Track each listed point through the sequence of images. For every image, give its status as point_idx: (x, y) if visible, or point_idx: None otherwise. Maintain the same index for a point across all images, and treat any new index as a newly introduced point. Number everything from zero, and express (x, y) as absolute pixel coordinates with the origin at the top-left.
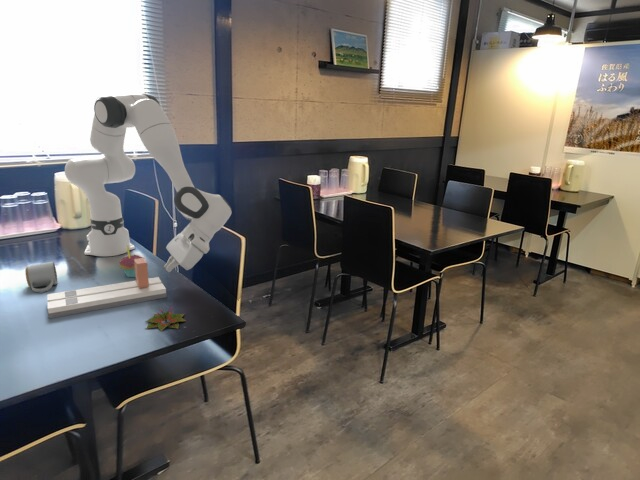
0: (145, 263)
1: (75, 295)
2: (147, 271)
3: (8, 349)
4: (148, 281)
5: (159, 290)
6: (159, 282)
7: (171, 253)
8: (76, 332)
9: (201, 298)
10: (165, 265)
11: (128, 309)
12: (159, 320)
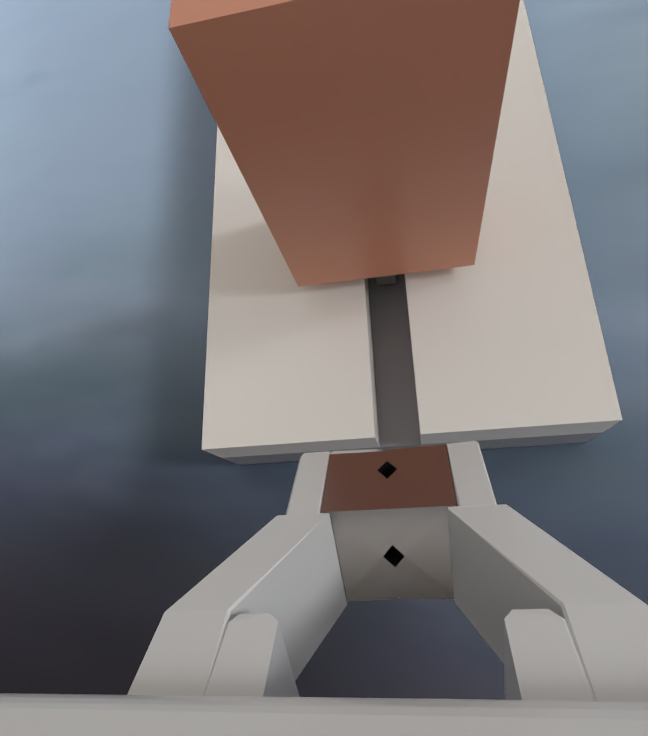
0: (181, 21)
1: None
2: (241, 166)
3: None
4: (285, 257)
5: (207, 385)
6: (419, 409)
7: (617, 733)
8: (41, 4)
9: None
10: (434, 465)
11: (162, 193)
12: None
